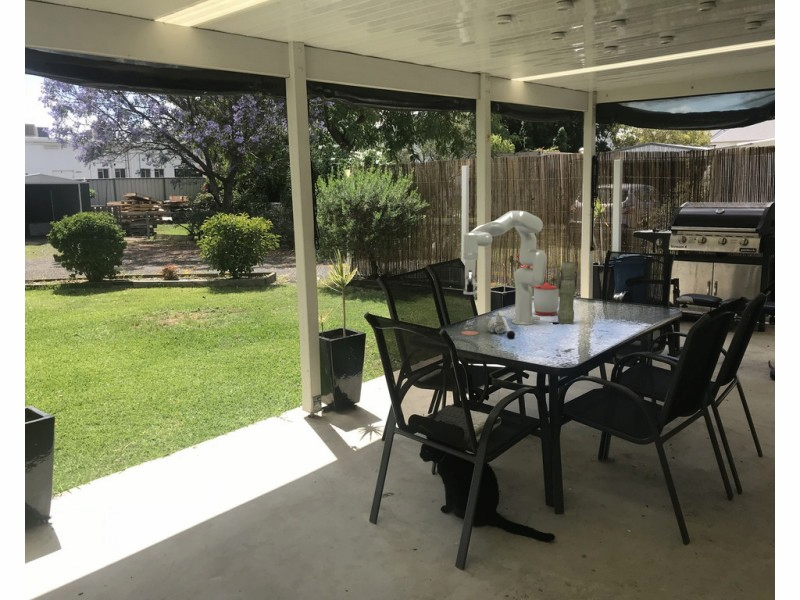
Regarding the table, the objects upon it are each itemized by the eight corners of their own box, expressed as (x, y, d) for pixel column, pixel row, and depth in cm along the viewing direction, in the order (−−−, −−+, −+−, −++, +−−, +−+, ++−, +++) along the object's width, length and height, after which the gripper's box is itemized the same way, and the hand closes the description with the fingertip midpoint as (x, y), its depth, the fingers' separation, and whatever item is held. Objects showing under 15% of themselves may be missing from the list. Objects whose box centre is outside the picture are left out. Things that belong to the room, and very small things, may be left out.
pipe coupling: (463, 292, 342) (463, 278, 340) (476, 292, 341) (477, 278, 340) (463, 294, 335) (463, 280, 334) (476, 294, 334) (477, 280, 333)
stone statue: (579, 324, 364) (581, 262, 359) (560, 325, 361) (562, 263, 356) (571, 321, 373) (573, 261, 367) (552, 322, 370) (554, 261, 364)
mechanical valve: (502, 324, 349) (509, 307, 338) (514, 351, 339) (522, 334, 327) (484, 327, 346) (491, 310, 335) (497, 354, 336) (504, 337, 324)
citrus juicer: (564, 316, 386) (565, 283, 382) (535, 316, 386) (536, 283, 383) (558, 312, 401) (559, 280, 398) (530, 312, 401) (531, 280, 398)
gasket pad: (478, 331, 345) (478, 331, 345) (478, 335, 336) (478, 334, 336) (461, 331, 346) (461, 330, 346) (460, 334, 338) (460, 334, 338)
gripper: (463, 255, 344) (463, 288, 346) (463, 258, 327) (462, 293, 330) (478, 255, 343) (477, 288, 346) (477, 258, 326) (477, 293, 329)
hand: (470, 290), depth 338 cm, fingers closed on pipe coupling, 5 cm apart
